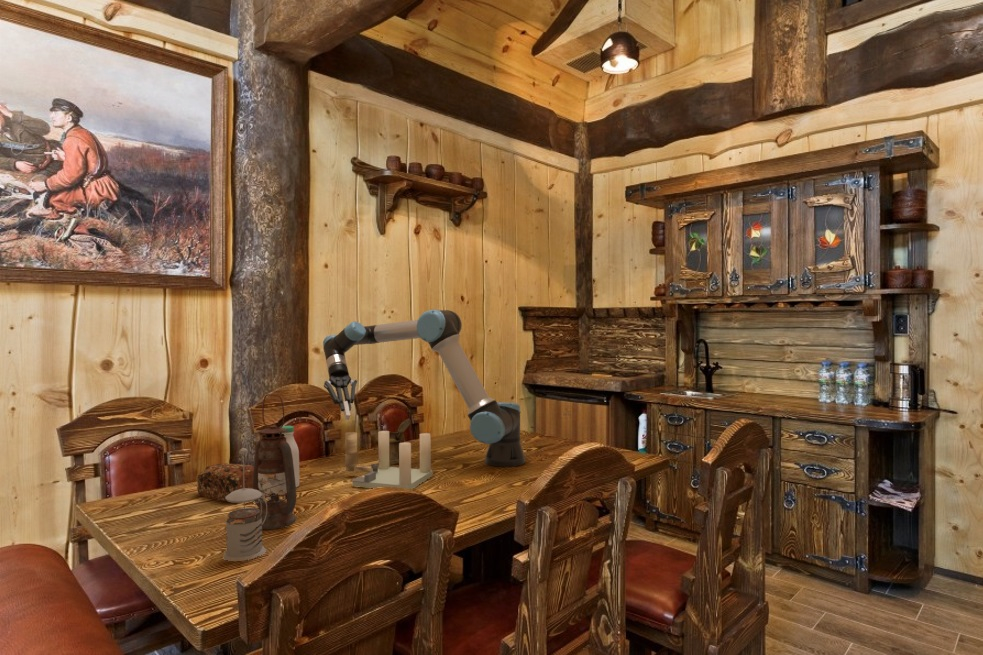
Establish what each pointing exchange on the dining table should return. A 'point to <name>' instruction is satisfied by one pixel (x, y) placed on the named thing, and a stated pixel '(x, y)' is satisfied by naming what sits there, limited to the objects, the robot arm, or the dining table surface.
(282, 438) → the lantern
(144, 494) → the dining table surface
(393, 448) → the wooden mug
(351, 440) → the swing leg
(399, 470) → the stool top
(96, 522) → the dining table surface
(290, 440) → the milk bottle
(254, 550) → the french press
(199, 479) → the bread
